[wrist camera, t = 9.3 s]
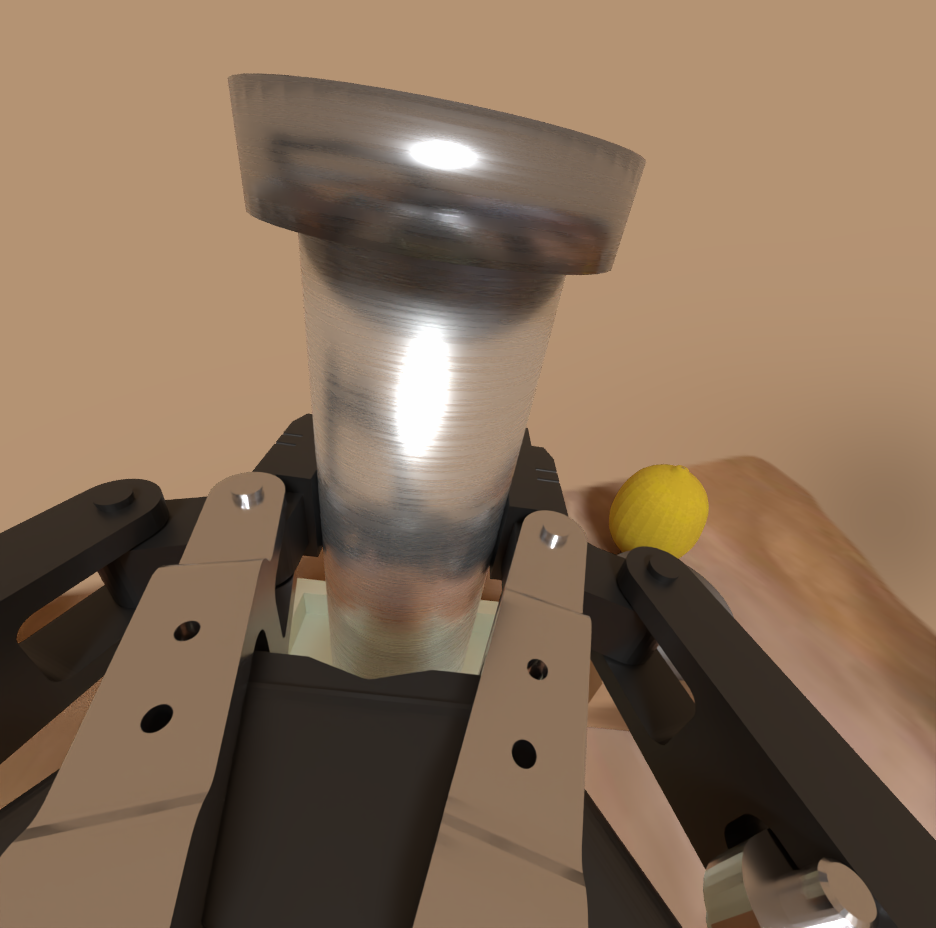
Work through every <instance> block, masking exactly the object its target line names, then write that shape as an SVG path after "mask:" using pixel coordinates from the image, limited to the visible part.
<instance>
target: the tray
mask: <svg viewBox="0 0 936 928" xmlns="http://www.w3.org/2000/svg"><path fill="white" fill-rule="evenodd" d="M498 603H499V602H495V601H487V600H480V604H479V607H478V611H477V615H476V619H475V623H474V626H473V630H472V634H471V638H470V642H469V645H468V649H467V653H466V657H465V661H464V664H463V668H462V672H461V673H466V674H476V675H478V673H479V670H480V666H481V663H482V659H483V656H484V652H485V649H486V645H487V642H488V638H489V634H490V631H491V627H492V624H493V620H494V617H495V613H496V610H497V606H498ZM288 654H290V655H299V656H309V657H311V658H314V659H316V660H319V661H321V662H324V663H326V664H329V665H331V666H332V655H331V643H330V630H329V617H328V605H327V592H326V581H320V580H311V579H303V578H297V584H296V592H295V600H294V608H293V616H292V624H291V632H290V640H289V650H288Z"/></svg>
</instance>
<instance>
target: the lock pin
mask: <svg viewBox="0 0 936 928" xmlns="http://www.w3.org/2000/svg"><path fill="white" fill-rule="evenodd" d="M228 83H229V91H230V98H231V105H232V113H233V120H234V127H235V134H236V141H237V149H238V156H239V163H240V170H241V178H242V185H243V192H244V199H245V206H246V211H247V212H248V213H249V214H250V215H252V216H254V217H256V218H258V219H260V220H262V221H265V222H267V223H270V224H273V225H275V226H278V227H282V228H285V229H288V230H291V231H295V232H298V237H299V249H300V250H299V251H300V263H301V276H302V288H303V301H304V314H305V326H306V338H307V352H308V365H309V377H310V390H311V402H312V415H313V428H314V440H315V453H316V466H317V478H318V491H319V504H320V516H321V529H322V542H323V554H324V567H325V580H326V592H327V605H328V617H329V630H330V643H331V655H332V666H334V667H336V668H339V669H341V670H344V671H346V672H349V673H351V674H354V675H356V676H359V677H361V678H365V679H376V678H382V677H389V676H395V675H402V674H408V673H415V672H421V671H428V670H439V671H448V672H457V673H461V672H462V668H463V664H464V661H465V657H466V653H467V649H468V645H469V642H470V638H471V634H472V630H473V626H474V623H475V619H476V615H477V611H478V607H479V604H480V600H481V596H482V592H483V588H484V585H485V581H486V577H487V573H488V569H489V566H490V562H491V558H492V554H493V550H494V547H495V543H496V539H497V535H498V531H499V528H500V524H501V520H502V516H503V512H504V509H505V505H506V501H507V497H508V493H509V490H510V486H511V482H512V478H513V474H514V471H515V467H516V463H517V459H518V455H519V452H520V448H521V444H522V440H523V436H524V433H525V429H526V425H527V421H528V417H529V413H530V409H531V406H532V402H533V398H534V394H535V391H536V387H537V383H538V379H539V375H540V372H541V368H542V364H543V360H544V357H545V352H546V349H547V345H548V341H549V338H550V334H551V330H552V326H553V322H554V319H555V315H556V311H557V307H558V303H559V299H560V296H561V292H562V288H563V284H564V281H565V277H566V275H589V274H600V273H605V272H608V271H610V270H611V269H612V266H613V263H614V260H615V257H616V254H617V251H618V247H619V244H620V241H621V238H622V235H623V231H624V229H625V226H626V222H627V219H628V216H629V213H630V210H631V207H632V203H633V201H634V197H635V194H636V191H637V188H638V185H639V182H640V178H641V176H642V172H643V169H644V166H645V162H646V161H645V159H644V158H643V157H642V156H640V155H638V154H637V153H635V152H633V151H631V150H629V149H626V148H624V147H622V146H619V145H617V144H614V143H611V142H608V141H605V140H602V139H600V138H597V137H593V136H590V135H587V134H583V133H580V132H577V131H574V130H570V129H567V128H563V127H559V126H556V125H552V124H548V123H545V122H540V121H536V120H532V119H529V118H525V117H521V116H516V115H513V114H508V113H504V112H499V111H495V110H490V109H486V108H482V107H477V106H473V105H468V104H464V103H459V102H454V101H449V100H444V99H439V98H434V97H429V96H424V95H418V94H413V93H407V92H402V91H396V90H390V89H385V88H378V87H372V86H366V85H359V84H354V83H347V82H339V81H332V80H325V79H317V78H309V77H299V76H298V77H297V76H289V75H276V74H238V75H232V76H230V77H229V78H228Z"/></svg>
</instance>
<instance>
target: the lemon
mask: <svg viewBox="0 0 936 928" xmlns="http://www.w3.org/2000/svg"><path fill="white" fill-rule="evenodd" d="M707 516H708V498H707V494H706V492H705V490H704V488H703V486H702V484H701V483H700V482H699V481H698V479H697V478H696V477H695V476H694V475H692V474H691V473H690V472H689V470H688V469H687V468H686V467H684V466H681V465H678V466H673V465H667V464H665V465H663V464H661V465H653V466H649V467H646V468H643V469H641V470H639V471H638V472H636V473H635V474H634V475H632V476H631V477H630V478H629V479H628V480H627V481H626V482H625V483H624V484H623V486H622V487H621V488H620V490H619V491H618V493H617V495H616V497H615V499H614V501H613V503H612V506H611V509H610V514H609V529H610V533H611V536H612V538H613V541H614V542H615V544H616V545H617V547H618V548H619V549H620V550H621V551H622V552H626V551H631V550H632V549H634V548H636V547H642V546H647V547H654V548H658V549H661V550H663V551H666V552H668V553H670V554H672V555H673V556H675V557H676V558H678V559H679V558H680V557H682V556H683V555H684V554H686V553H687V552H688V551H689V550H690V549H691V548H692V547H693V546H694V545H695V543H696V542H697V541H698V539H699V537H700V535H701V533H702V531H703V528H704V526H705V523H706V520H707Z"/></svg>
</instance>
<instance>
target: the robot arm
mask: <svg viewBox="0 0 936 928" xmlns="http://www.w3.org/2000/svg"><path fill="white" fill-rule="evenodd" d="M322 547H323V542H322V529H321V516H320V504H319V491H318V478H317V466H316V453H315V440H314V428H313V415H312V414H306V415H304V416H302V417H300V418H299V419H297V420H295V421H293V422H292V423H291V424H290V425H289V427H288V428H287V429H286V431H284V434H283V435H281V436H280V438H279V439H278V440H277V441H276V444H274V445H273V446H272V448H271V449H270V450H269V451H268V453H267V454H266V455H265V457H264V458H263V459H262V460H261V461H260V463H259V464H258V465H257V466H256V468H255V469H254V470H253V471H252V472H247V473H241V474H237V475H234V476H230V477H228V478H226V479H224V480H222V481H220V482H219V483H218V484H216V485H215V486H214V487H213V488H212V489H211V491H210V492H209V494H208V496H207V497H199V498H186V499H173V500H165V499H164V497H163V494H162V492H161V489H160V487H159V486H158V485H157V484H155V483H153V482H151V481H147V480H142V479H123V480H116V481H112V482H108V483H104V484H101V485H98V486H95V487H93V488H91V489H89V490H87V491H85V492H83V493H81V494H79V495H76V496H74V497H73V498H70V499H68V500H66V501H64V502H62V503H61V504H58V505H56V506H54V507H52V508H50V509H48V510H46V511H44V512H42V513H40V514H38V515H36V516H34V517H32V518H30V519H28V520H26V521H24V522H22V523H20V524H18V525H16V526H14V527H12V528H10V529H8V530H6V531H4V532H2V533H0V764H1V763H2V762H3V761H5V760H6V759H7V758H8V757H9V756H10V755H12V754H13V753H14V752H15V751H16V750H17V749H19V748H20V747H21V746H22V745H23V744H25V743H26V742H27V741H28V740H29V739H30V738H32V737H33V736H34V735H35V734H36V733H37V732H39V731H40V730H41V729H42V728H43V727H44V726H46V725H47V724H48V723H49V722H50V721H51V720H53V719H54V718H55V717H56V716H57V715H58V714H60V713H61V712H62V711H63V710H64V709H65V708H67V707H68V706H69V705H70V704H71V703H72V702H74V701H75V700H76V699H77V698H78V697H79V696H81V695H82V694H83V693H84V692H85V691H86V690H88V689H89V688H90V687H91V686H92V685H93V684H95V683H96V682H97V681H98V680H99V679H100V678H102V677H103V676H104V677H103V680H102V682H101V684H100V686H99V688H98V690H97V692H96V694H95V696H94V698H93V700H92V703H91V705H90V707H89V709H88V711H87V713H86V715H85V717H84V719H83V721H82V724H81V726H80V728H79V730H78V732H77V734H76V736H75V738H74V740H73V742H72V745H71V747H70V749H69V751H68V753H67V755H66V757H65V759H64V761H63V763H62V766H61V768H60V769H58V770H57V771H56V772H54V773H53V774H51V775H50V776H48V777H47V778H45V779H44V780H43V781H41V782H40V783H38V784H37V785H35V786H34V787H32V788H31V789H30V790H28V791H27V792H25V793H24V794H22V795H21V796H19V797H18V798H17V799H15V800H14V801H12V802H11V803H9V804H8V805H6V806H5V807H4V808H2V809H1V810H0V928H682V926H681V925H680V923H679V922H678V920H677V919H676V918H675V916H674V915H673V913H672V912H671V911H670V909H669V908H668V906H667V905H666V903H665V902H664V901H663V899H662V898H661V896H660V895H659V894H658V892H657V891H656V889H655V888H654V886H653V885H652V884H651V882H650V881H649V879H648V878H647V877H646V875H645V874H644V872H643V871H642V869H641V868H640V867H639V865H638V864H637V862H636V861H635V859H634V858H633V857H632V855H631V854H630V852H629V851H628V850H627V848H626V847H625V845H624V844H623V842H622V841H621V840H620V838H619V837H618V835H617V834H616V833H615V831H614V830H613V828H612V827H611V825H610V824H609V823H608V821H607V820H606V818H605V817H604V816H603V814H602V813H601V811H600V810H599V808H598V807H597V806H596V804H595V803H594V801H593V800H592V798H591V797H590V796H589V794H588V793H587V791H586V790H585V789H584V786H585V764H586V741H587V719H588V696H589V674H590V660H591V661H592V663H593V665H594V667H595V669H596V671H597V672H598V674H599V676H600V678H601V680H602V681H603V683H604V685H605V687H606V689H607V691H608V692H609V694H610V696H611V698H612V700H613V702H614V703H615V705H616V707H617V709H618V711H619V712H620V714H621V716H622V718H623V720H624V722H625V723H626V725H627V727H628V729H629V731H630V733H631V734H632V736H633V738H634V740H635V742H636V743H637V745H638V747H639V749H640V751H641V753H642V754H643V756H644V758H645V760H646V762H647V764H648V765H649V767H650V769H651V771H652V773H653V774H654V776H655V778H656V780H657V782H658V784H659V785H660V787H661V789H662V791H663V793H664V795H665V796H666V798H667V800H668V802H669V804H670V805H671V807H672V809H673V811H674V813H675V815H676V816H677V818H678V820H679V822H680V824H681V826H682V827H683V829H684V831H685V833H686V835H687V836H688V838H689V840H690V842H691V844H692V846H693V847H694V849H695V851H696V853H697V855H698V857H699V858H700V860H701V862H702V864H703V866H704V868H705V869H706V871H705V875H704V883H703V892H704V901H705V906H706V911H707V912H706V923H707V928H936V840H935V839H934V838H933V837H932V836H931V835H930V834H929V832H928V831H927V830H926V829H925V828H924V827H923V826H922V825H921V824H920V823H919V821H918V820H917V819H916V818H915V817H914V816H913V815H912V814H911V813H910V812H909V810H908V809H907V808H906V807H905V806H904V805H903V804H902V803H901V802H900V801H899V799H898V798H897V797H896V796H895V795H894V794H893V793H892V792H891V791H890V790H889V788H888V787H887V786H886V785H885V784H884V783H883V782H882V781H881V780H880V778H879V777H878V776H877V775H876V774H875V773H874V772H873V771H872V770H871V769H870V767H869V766H868V765H867V764H866V763H865V762H864V761H863V760H862V759H861V758H860V756H859V755H858V754H857V753H856V752H855V751H854V750H853V749H852V748H851V747H850V745H849V744H848V743H847V742H846V741H845V740H844V739H843V738H842V737H841V735H840V734H839V733H838V732H837V731H836V730H835V729H834V728H833V727H832V726H831V724H830V723H829V722H828V721H827V720H826V719H825V718H824V717H823V716H822V715H821V713H820V712H819V711H818V710H817V709H816V708H815V707H814V706H813V705H812V704H811V702H810V701H809V700H808V699H807V698H806V697H805V696H804V695H803V694H802V693H801V691H800V690H799V689H798V688H797V687H796V686H795V685H794V684H793V683H792V681H791V680H790V679H789V678H788V677H787V676H786V675H785V674H784V673H783V672H782V670H781V669H780V668H779V667H778V666H777V665H776V664H775V663H774V662H773V661H772V659H771V658H770V657H769V656H768V655H767V654H766V653H765V652H764V651H763V650H762V648H761V647H760V646H759V645H758V644H757V643H756V642H755V641H754V640H753V638H752V637H751V636H750V635H749V634H748V633H747V632H746V631H745V630H744V629H743V627H742V626H741V625H740V624H739V623H738V622H737V621H736V620H735V619H734V618H733V616H732V615H731V614H730V613H729V612H728V611H727V610H726V609H725V608H724V607H723V605H722V604H721V603H720V602H719V601H718V600H717V599H716V598H715V597H714V595H713V594H712V593H711V592H710V591H709V590H708V589H707V588H706V587H705V586H704V584H703V583H702V582H701V581H700V580H699V579H698V578H697V577H696V576H695V575H694V573H693V572H692V571H691V570H690V569H689V568H688V567H687V566H686V565H685V564H684V563H683V562H682V561H680V560H679V559H678V558H676V557H675V556H673V555H672V554H670V553H668V552H666V551H663V550H661V549H658V548H654V547H647V546H642V547H636V548H634V549H632V550H631V551H630V552H629V553H628V555H627V557H626V558H623V557H620V556H617V555H615V554H612V553H609V552H607V551H604V550H602V549H599V548H597V547H595V546H593V545H591V544H589V543H588V542H587V537H586V534H585V532H584V530H583V529H582V528H581V526H580V525H579V524H578V523H577V522H575V521H574V520H573V519H571V518H569V517H568V513H567V509H566V505H565V502H564V498H563V494H562V490H561V486H560V483H559V478H558V475H557V473H556V467H555V463H554V459H553V458H552V457H551V456H550V455H549V453H547V451H546V450H545V449H544V448H542V447H535V446H531V442H530V437H529V432H528V428H526V429H525V433H524V436H523V440H522V444H521V448H520V452H519V455H518V459H517V463H516V467H515V471H514V474H513V478H512V482H511V486H510V490H509V493H508V497H507V501H506V505H505V509H504V512H503V516H502V520H501V524H500V528H499V531H498V535H497V539H496V543H495V547H494V550H493V554H492V558H491V562H490V579H497V580H502V593H501V596H500V599H499V603H498V606H497V610H496V613H495V617H494V620H493V624H492V627H491V631H490V634H489V638H488V642H487V645H486V649H485V652H484V656H483V659H482V663H481V666H480V670H479V673H478V675H476V674H466V673H457V672H448V671H439V670H428V671H421V672H415V673H408V674H402V675H395V676H389V677H382V678H376V679H365V678H361V677H359V676H356V675H354V674H351V673H349V672H346V671H344V670H341V669H339V668H336V667H334V666H331V665H329V664H326V663H324V662H321V661H319V660H316V659H314V658H311V657H309V656H299V655H290V654H288V650H289V640H290V632H291V624H292V616H293V608H294V600H295V592H296V584H297V570H296V568H297V566H298V564H299V562H300V560H301V558H302V556H303V555H305V556H313V557H318V556H319V554H320V551H321V549H322ZM95 572H98V573H99V575H100V577H101V579H102V581H103V582H104V584H105V585H104V586H103V587H101V588H100V589H98V590H97V591H95V592H94V593H92V594H91V595H89V596H88V597H87V598H85V599H84V600H82V601H81V602H79V603H78V604H76V605H75V606H73V607H72V608H71V609H69V610H68V611H66V612H65V613H63V614H62V615H60V616H59V617H58V618H56V619H55V620H53V621H52V622H50V623H49V624H47V625H46V626H44V627H43V628H42V629H40V630H39V631H37V632H36V633H34V634H33V635H31V636H30V637H28V638H27V639H26V640H24V641H22V642H20V643H17V640H16V637H17V633H18V630H19V628H20V627H21V625H22V624H23V622H24V621H25V620H26V619H27V618H28V617H29V616H31V615H32V614H33V613H34V612H36V611H37V610H39V609H40V608H42V607H43V606H45V605H46V604H48V603H50V602H51V601H53V600H54V599H56V598H57V597H59V596H60V595H62V594H63V593H65V592H66V591H68V590H69V589H71V588H72V587H74V586H76V585H77V584H79V583H80V582H82V581H83V580H85V579H86V578H88V577H89V576H91V575H92V574H94V573H95ZM659 645H660V647H661V648H662V650H663V651H664V653H665V654H666V655H667V657H668V658H669V660H670V661H671V662H672V664H673V665H674V667H675V668H676V670H677V671H678V672H679V674H680V675H681V677H682V678H683V680H684V681H685V682H686V684H687V685H688V687H689V688H690V690H691V692H692V695H693V697H694V701H695V703H694V701H693V700H692V698H691V697H690V695H689V694H688V693H687V691H686V690H685V688H684V687H683V685H682V684H681V682H680V681H679V680H678V678H677V677H676V675H675V674H674V672H673V671H672V669H671V668H670V667H669V665H668V664H667V662H666V661H665V659H664V658H663V657H662V655H661V654H660V652H659V651H658V649H657V647H658V646H659Z"/></svg>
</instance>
